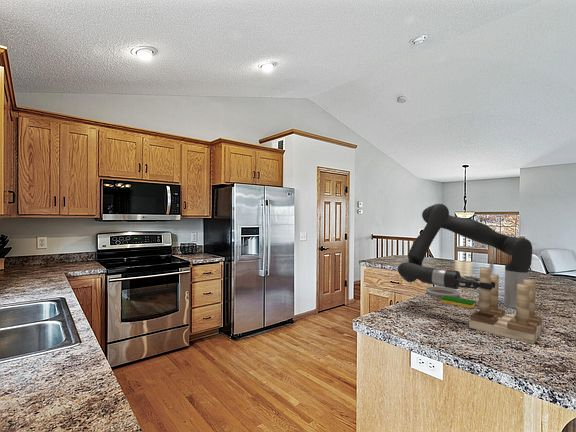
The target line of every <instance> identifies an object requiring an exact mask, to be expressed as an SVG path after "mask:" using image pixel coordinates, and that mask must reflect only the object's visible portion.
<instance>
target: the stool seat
mask: <svg viewBox="0 0 576 432" xmlns="http://www.w3.org/2000/svg"><path fill="white" fill-rule="evenodd" d="M499 279H500V275H499V274H493V273H491V282H495V288H492V290H491V296H490V311H484V310H480V309H478V310H475V311H474V312H472V313H471V314H470V315H469V317H470V318H469V321H468V322H469V323H468V328H469V329H474V330H478V331H482V332H484V333H485V332H486V333H490V334H493V335H498V336H502V337H505V338H509V339H513V340H518V341H521V342H526V343H529V344H533V345H534V344H535V343H536V341H537V339H538V337H539V336H540V334H541V333H542V331H543V330H544V329H543V328H544V323H543V322H544V321H543V316H542V315H538V314H536V313H535V312H536V288H537V287H536V284H537V282H536V280H535V279H529V278H528V279H523V284H517V299H516V309H515V314H509V313H506V308H502V307H499V291H500V290H499V289H500V288H499V286H500V285H499V284H500V280H499Z"/></svg>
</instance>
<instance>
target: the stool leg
mask: <svg viewBox="0 0 576 432" xmlns="http://www.w3.org/2000/svg"><path fill="white" fill-rule="evenodd" d="M492 271H493V269H492V268H491V267H479V278H480V281H479V282H483V283H489V284H491V274H492V273H493V272H492ZM490 296H491V290H488V289H482V288H480V289H478V305H477V306H478V307H477V309H478V310H479V309H480V310H484V311H490Z"/></svg>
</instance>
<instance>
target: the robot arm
mask: <svg viewBox="0 0 576 432" xmlns="http://www.w3.org/2000/svg"><path fill="white" fill-rule="evenodd" d="M421 217H422V220H423V221H424V222H425V223H426V225H425V226H424V228H423V230H422V231H421V232H420V233H419V234H418V235H417V237H416V238H415V240H414V241H413V243H412V245H411V246H410V249H409V251H408V253H407V259H408V262H407V261H406V262H402V263H400V264H399V265H398V267H397V273H398V275H399V276H400V277H402V279H403V280H405V281H406V282H408V283H413V282H415V281H417V280H418V281H420V282H422V283H424V284H427V285H434V286H436V287H446V288H451V289H455V290H458V289H459V288H464V289H472V290H473V289H474V290H477V289H478V290H479V289H480V288H482V289H488V290H492V288H495V282H491V284H489V283H483V282H479V281H480V277H475V276H471V275H464V276H462V275H461V272H460V271H459V270H453V269H446V268H437V267H436V268H435V267H428V266H423V261H424V259H425V257H426V255H427V253H428V251H429V249H430V247H431V245H432V243H433V241H434V239H435V237H436V236H437V234H438V233H439V231H440V230H441V229H443V230H444V229H445V230H447V231H450V232H452V233H454V234H456V235H459V236H461V237H464V238H466V239H469V240H471V241H474V242H476V243H480V244H483V245H486V246H491V247H492V248H495V249H496V250H498V251H500V252H502V253H504V254H507V255H509V256H511V260H510V262H508V263H505V265H504V293H503V294H504V296H503V306H505V307H507V308H511V309H515V310H516V299H517V284H523V279H529V275H530V273H529V272H530V268H531V266H532V261H533V260H532V258H533V244H532V243H531V241H530V240H529V239H527V238H524V237H517V236H510V235H505V234H503V233H500V232H497V231H496V230H494V229H493V228H492V227H490V226H488V225H487V224H485V223H484V222H483V223H482V222H480V221H478V220H474V219H471V218H466V217H459V216H454V215H453V216H452V215H450V211H449V208H448V207H447V206H446V205H445V204H443V203H435V204H433V205H430V206H428V207H426V208H425V209H424V210H422V212H421Z"/></svg>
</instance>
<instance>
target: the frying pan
mask: <svg viewBox="0 0 576 432" xmlns="http://www.w3.org/2000/svg"><path fill="white" fill-rule="evenodd" d="M424 290H425V292H426V294H427V295H429V296H432V297H436V298H437V297H438V298H441V297H443V296H451V297H456V298H459V295H460V291H459V290H458V289H451V288H446V287H441V286H437V285H434V286H427V287H425V289H424Z"/></svg>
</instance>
